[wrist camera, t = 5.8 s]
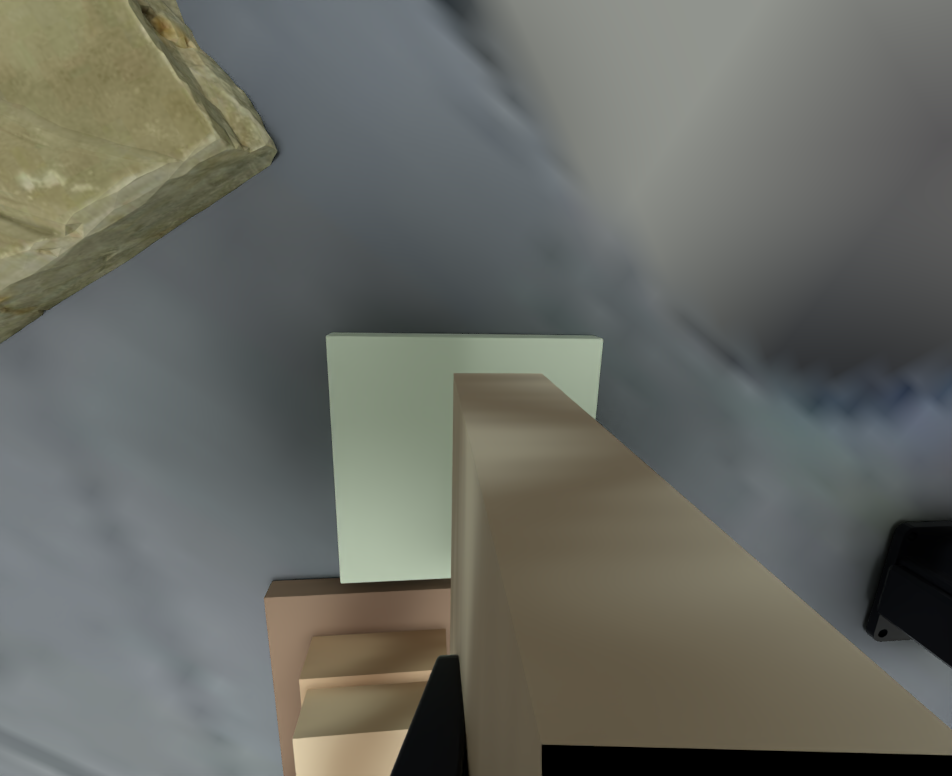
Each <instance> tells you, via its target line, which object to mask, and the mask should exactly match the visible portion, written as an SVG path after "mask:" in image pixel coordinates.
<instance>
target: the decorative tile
mask: <svg viewBox="0 0 952 776" xmlns="http://www.w3.org/2000/svg"><path fill="white" fill-rule="evenodd" d="M276 153H277V149H276V147H275V144H274V142H273V140H272V139H271V137H270V136H269V134H268V133H267V131H266V130H265V128H264V125H263V122H262V119H261V117H260V116H259V114H258V113H257V112H256V110H255V109H254V107H253V105H252V103H251V101H250V100H249V99H248V97H247V96H246V94H245V93H244V91H243V90H241V89H240V88H238V87H237V86H236V85H235V84H234V82H233V81H232V80H231V78H230V77H229V76H228V75H227V74H226V73H225V72H224V71H223V70H222V69H221V67H220V66H219V65H218V64H217V63H216V62H215V61H214V60H213V59H212V58H211V57H210V56H208V55H207V54H206V53H205V52H204V51H202V50H201V49H200V47H199V46H198V44H197V42H196V40H195V38H194V37H193V34H192V31H191V30H190V29H189V28H188V26H187V25H186V24H185V23H184V21H183V18H182V16H181V13H180V10H179V8H178V5H177V3H176V0H0V343H2V342H3V341H5V340H6V339H8V338H9V337H11V336H12V335H14V334H15V333H17V332H18V331H20V330H21V329H22V328H24V327H25V326H26V325H28V324H29V323H31V322H33V321H34V320H36V319H37V318H39V317H40V316H42V315H43V312H44V310H49V309H50V308H52V307H53V306H55V305H56V304H58V303H60V302H61V301H63V300H64V299H66V298H68V297H69V296H71V295H73V294H74V293H76V292H77V291H79V290H81V289H82V288H84V287H85V286H87V285H88V284H90V283H92V282H94V281H95V280H97V279H99V278H101V277H102V276H104V275H106V274H107V273H109V272H111V271H112V270H114V269H116V268H117V267H119V266H120V265H122V264H124V263H125V262H127V261H128V260H130V259H131V258H133V257H134V256H136V255H137V254H138V253H140V252H141V251H143V250H144V249H145V248H147V247H148V246H150V245H151V244H152V243H154V242H155V241H157V240H158V239H160V238H162V237H163V236H164V235H166V234H167V233H169V232H170V231H172V230H173V229H175V228H176V227H177V226H179V225H180V224H182V223H183V222H185V221H186V220H188V219H189V218H191V217H192V216H194V215H195V214H197V213H199V212H201V211H203V210H204V209H206V208H207V207H209V206H210V205H212V204H213V203H215V202H216V201H218V200H219V199H221V198H222V197H224V196H225V195H227V194H228V193H230V192H231V191H233V190H234V189H236V188H237V187H239V186H240V185H242V184H243V183H244V182H246V181H247V180H249V179H250V178H252V177H253V176H255V175H256V174H258V173H259V172H261V171H262V170H264V169H265V168H267V167H268V166H270V165H271V163H272V160H273V158H274V156H275V154H276Z"/></svg>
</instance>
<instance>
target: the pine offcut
mask: <svg viewBox="0 0 952 776" xmlns="http://www.w3.org/2000/svg"><path fill="white" fill-rule="evenodd" d="M426 684H427V681H422V682H408V683H395V684H381V685H367V686H353V687H339V688H326V689H312V690H307V691H306V694H305V698H304V701H303V705H302V708H301V711H300V715H299V718H298V722H297V725H296V728H295V732H294V735H293V739H292V740H293V750H294V760H295V769H296V776H390V774H391V771H392V769H393V766H394V764H395V761H396V759H397V756H398V754H399V751H400V749H401V746H402V744H403V741H404V739H405V736H406V734H407V731H408V729H409V726H410V724H411V721H412V719H413V716H414V714H415V711H416V709H417V706H418V704H419V701H420V699H421V696H422V694H423V691H424V689H425V686H426Z"/></svg>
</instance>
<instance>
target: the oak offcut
mask: <svg viewBox="0 0 952 776" xmlns="http://www.w3.org/2000/svg"><path fill="white" fill-rule="evenodd" d="M440 655H447V648H446V629H432V630H415V631H399V632H382V633H366V634H349V635H332V636H316V637H312V640H311V643H310V647H309V650H308V653H307V656H306V659H305V662H304V665H303V668H302V672H301V675H300V678H299V686H300V697H301V708H302V705H303V701H304V698H305V694H306V691H307V690H312V689H326V688H339V687H353V686H367V685H381V684H395V683H408V682H422V681H428V679H429V676H430V674H431V671H432V669H433V666H434V664H435V661H436V659H437V657H438V656H440Z"/></svg>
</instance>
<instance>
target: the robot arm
mask: <svg viewBox="0 0 952 776" xmlns="http://www.w3.org/2000/svg"><path fill="white" fill-rule="evenodd" d="M866 632H867V634H869V635H870V636H871V637H872V638H874V639H875V640H876V641H880V642H882V641H896V640H910V639H913V640H914V641H916V642H917V643H918V644H920V645H921V646H922V647H924V648H925V649H926V650H928V651H929V652H930V653H932V654H933V655H934V656H936V657H937V658H938V659H940V660H941V661H942V662H944V663H945V664H946V665H948V666H949V667H950V668H952V521H934V522H909V523H903V524H901V525H899V526H898V527H897V528H896V530H895V532H894V536H893V539H892V542H891V546H890V549H889V553H888V556H887V559H886V563H885V566H884V570H883V573H882V576H881V580H880V583H879V587H878V590H877V593H876V597H875V600H874V604H873V607H872V610H871V614H870V617H869V621H868V624H867V627H866ZM572 746H573V750H574V755H575V760H576V764H577V769H578V773H579V776H591V770H592V762H593V753H594V746H582V745H572ZM464 765H465V716H464V705H463V695H462V684H461V674H460V663H459V655H457V654H452V655H440V656H438V657H437V659H436V661H435V664H434V666H433V669H432V671H431V674H430V676H429V679H428V681H427V684H426V686H425V689H424V691H423V694H422V696H421V699H420V701H419V704H418V706H417V709H416V711H415V714H414V716H413V719H412V721H411V724H410V726H409V729H408V731H407V734H406V736H405V739H404V741H403V744H402V746H401V749H400V751H399V754H398V756H397V759H396V761H395V764H394V766H393V769H392V771H391V774H390V776H464Z"/></svg>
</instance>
